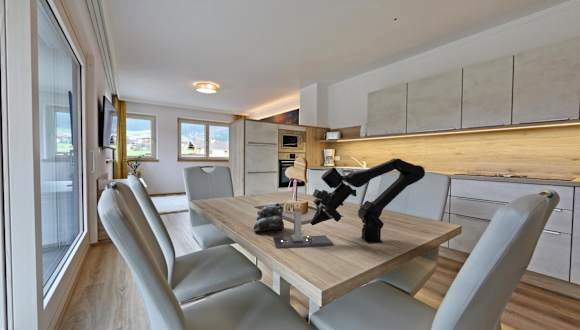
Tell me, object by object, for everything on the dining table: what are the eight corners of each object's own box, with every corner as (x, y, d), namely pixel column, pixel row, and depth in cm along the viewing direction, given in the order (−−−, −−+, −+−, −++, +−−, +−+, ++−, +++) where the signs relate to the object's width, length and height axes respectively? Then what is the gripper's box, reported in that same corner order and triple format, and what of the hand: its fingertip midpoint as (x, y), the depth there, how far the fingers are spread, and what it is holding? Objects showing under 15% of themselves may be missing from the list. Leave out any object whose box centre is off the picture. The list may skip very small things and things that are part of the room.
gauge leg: (301, 237, 95) (301, 207, 94) (303, 241, 90) (304, 209, 90) (291, 237, 94) (291, 207, 94) (293, 241, 90) (293, 209, 89)
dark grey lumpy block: (247, 232, 103) (248, 202, 110) (263, 236, 112) (264, 208, 119) (275, 227, 97) (275, 195, 103) (290, 232, 106) (289, 203, 112)
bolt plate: (325, 237, 99) (325, 231, 99) (332, 245, 90) (332, 238, 90) (273, 239, 95) (273, 233, 95) (275, 248, 86) (275, 241, 86)
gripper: (318, 180, 103) (293, 205, 101) (333, 184, 84) (302, 216, 83) (335, 197, 104) (310, 223, 103) (353, 206, 86) (323, 237, 84)
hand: (311, 224), depth 93 cm, fingers closed
